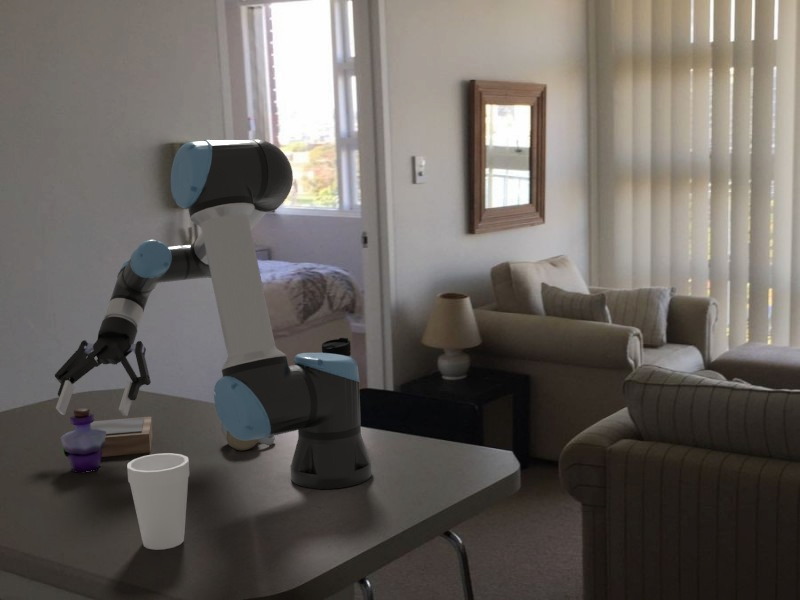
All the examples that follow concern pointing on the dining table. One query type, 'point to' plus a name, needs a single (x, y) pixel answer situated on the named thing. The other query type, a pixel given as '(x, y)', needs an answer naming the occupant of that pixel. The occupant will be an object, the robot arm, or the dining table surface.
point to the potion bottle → (83, 442)
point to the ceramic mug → (242, 444)
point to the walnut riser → (126, 435)
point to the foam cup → (160, 498)
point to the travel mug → (337, 347)
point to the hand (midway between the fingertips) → (91, 412)
